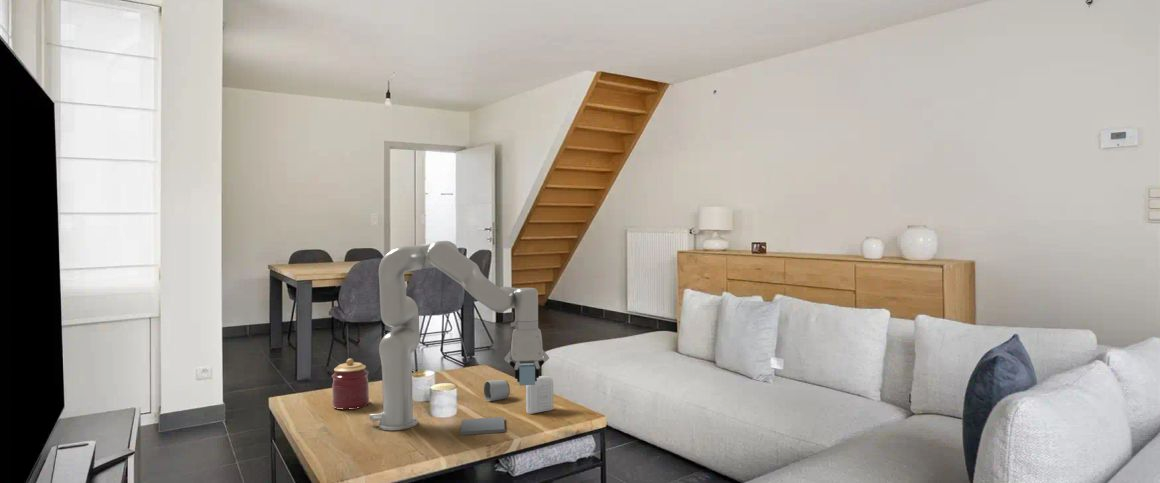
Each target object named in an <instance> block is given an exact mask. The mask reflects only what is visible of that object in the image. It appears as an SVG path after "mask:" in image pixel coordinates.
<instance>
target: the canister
mask: <svg viewBox="0 0 1160 483" xmlns="http://www.w3.org/2000/svg"><path fill="white" fill-rule="evenodd" d="M366 368H367V366H366V365H365V364H363V363H362V362H356V361H354V359H353V358H348V359H346V362H344V363H340V364H338V365H337V366H336V367H334V369H333V370H334V373H333V374H332V375H331V378H332V379H333V380H332V381H333V382H332V384H331V386H332V401H331V402H332V404H331V405H332V406H334V407H336V408H343V409H349V408H357V407H361V408H363V407H362V406H364V407H366V406H368V405H369V404H368V403H369V402H370V396H369V392H370V391H369V380H368V375H369V373H370V372H369V371H368V370H366ZM367 404H368V405H367ZM365 405H366V406H365ZM334 407H333V408H334ZM357 409H358V408H357Z"/></svg>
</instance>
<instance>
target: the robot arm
mask: <svg viewBox="0 0 1160 483" xmlns="http://www.w3.org/2000/svg"><path fill="white" fill-rule="evenodd" d="M433 268H434V269H435V268H436V269H438V270H439V271H441V272H442V273H443V274H445V275H446V276H448V277H449V278H451V279H452V280H453V281H455V282H456V283H458V284H459V285H460V286H461V287H462V288H463V289H464V290H465V291H466V292H467V293H468V294H470V295H471V297H472V298H474V299H475V300H476V301H478V302H479V303H481V304H482V305H483V306H485V307H486V308H487V309H489V310H490V311H493V312H495V313H505V312H507V311H508V310H510V309H514V316H515V317H514V321H513V322H510V327H512V328H514V329H513V330H512V334H511V344H510V345H511V347H510V350H509V352H508V353H507V354H506V356H505V357H504V361H505V362H506V363H508V364H509V365H510V366H511V367H512V368H513V369H514V373H515V374H514V379H515V380H516V381H517V383H519V382H520V375H519V364H521V362H533V363H534V365H535V381H537V378H539V376H540V372H539V371H540V368H541V367H542V366H543V365H544V364H545V363H546V362H547V361H548V360H550V357H549V355H548V354H547V353H546V351H545V350H544V349H543V336H542V331H541V329H540V328H539V291H538V290H537V288H535V287H511V286H501V287H499V286H498V285H496V284H495V283H494V282H492V281H491V280H489V278H487V277H486V276H485V275H484V274H483V273H482V271H481V269H480V267H479V265H478V264H477V263H476V262H474V261H473V260H471V259H470V258H469V257H467V256H466V255H464V254H462V253H461V252H460V251H459V248H458V246H457V245H456V244H455V243H454V242H452V241H450V240H438V241H434V242H433V243H431V242H430V243H426V244H425V243H424V244H417V245H410V246H409V245H405V246H399V247H397V248H393V249H392V250H390V251H389V252H388V253H386V254H385V255H384V256H383V257H382V259H381V261H380V263H379V266H378V283H379V303H380V304H379V305H380V306H379V307H380V318H381V320H382V323H383V324H384V325H386V326H387V327H390V328H392V331H390V332H387V334H385V335H384V336H383V337H382V338H381V340H380V342H379V347H378V348H379V349H378V351H379V358H380V363H381V364H380V365H381V376H382V378H381V380H382V408H383V410H382V412H379V413H370V414H369V420H370V421H372V422H378V421H379V422H378V428H379V429H380V430H384V431H402V430H407V429H410V428H413V427H415V426H417V425H418V424H419V420H418V419H419V418H417V417H415V416H414V408H413V406H414V404H413V373H412V372H413V371H412V370H413V369H412V363H411V359H410V355H411V354H412V353H413V352H414V351H416V350H417V349H418V347H419V345H420V340H421V334H420V316H419V315H420V314H419V308H418V305H417V303H416V301H415V300H414V299H413V298H412V297H410V296H407V283H406V280H405V274H406V273H408V272H413V271H418V270H424V269H433Z"/></svg>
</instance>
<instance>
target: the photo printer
mask: <svg viewBox="0 0 1160 483" xmlns="http://www.w3.org/2000/svg"><path fill="white" fill-rule="evenodd" d="M552 410H554V381H553V378H552V377H551V376H547V375H541V376H540V375H539V378H537V381H535V385H525V411H526V413H527V414H529V415H532V414H537V413H542V412H548V411H552Z"/></svg>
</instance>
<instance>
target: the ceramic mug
mask: <svg viewBox="0 0 1160 483" xmlns="http://www.w3.org/2000/svg"><path fill="white" fill-rule="evenodd" d="M510 392H511V387H510V383H509V381H507V380H506V379H498V380H497V379H496V380H495V379H494V380H486V381H485V383H484V385H483V396H484V399H485V400H486V401H487V402H494V401H499V400H500V401H501V400H504V399H507V398H508V397H509V396H510V394H511V393H510Z"/></svg>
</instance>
